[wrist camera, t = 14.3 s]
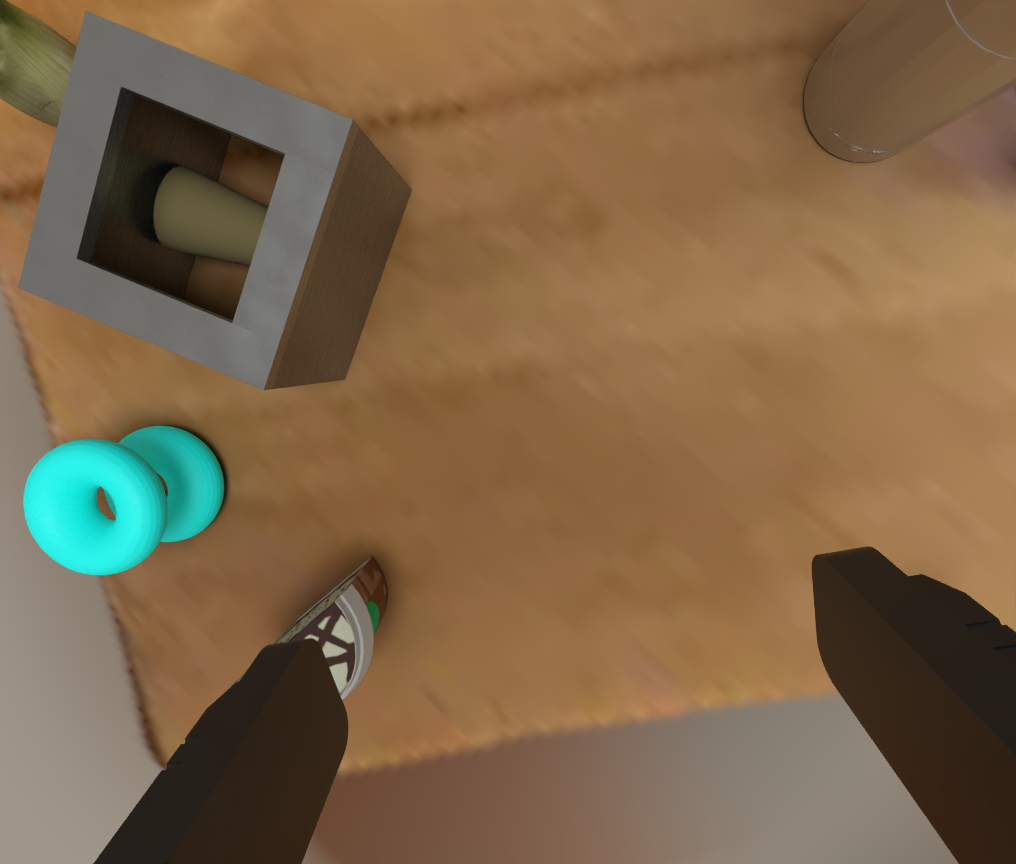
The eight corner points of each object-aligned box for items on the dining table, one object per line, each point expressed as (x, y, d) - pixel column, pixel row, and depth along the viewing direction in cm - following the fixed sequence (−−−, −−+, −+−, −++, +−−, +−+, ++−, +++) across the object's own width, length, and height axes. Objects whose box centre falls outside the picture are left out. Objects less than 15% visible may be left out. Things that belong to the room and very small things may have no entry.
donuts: (-10, 533, 39) (45, 414, 37) (104, 496, 48) (151, 401, 47) (111, 607, 39) (171, 492, 37) (200, 556, 49) (251, 463, 47)
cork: (207, 180, 43) (344, 229, 44) (188, 255, 44) (324, 301, 45) (166, 153, 37) (326, 210, 38) (145, 241, 38) (303, 294, 39)
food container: (331, 679, 49) (277, 760, 39) (285, 629, 49) (218, 698, 39) (431, 598, 48) (400, 662, 38) (384, 545, 47) (341, 596, 37)
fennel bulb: (90, 48, 43) (-84, -68, 31) (132, 99, 43) (-24, 3, 31) (42, 100, 44) (-145, 6, 32) (84, 149, 44) (-86, 75, 32)
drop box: (224, 113, 43) (85, 10, 30) (411, 189, 43) (352, 119, 30) (167, 306, 45) (18, 288, 33) (344, 379, 45) (263, 390, 32)
